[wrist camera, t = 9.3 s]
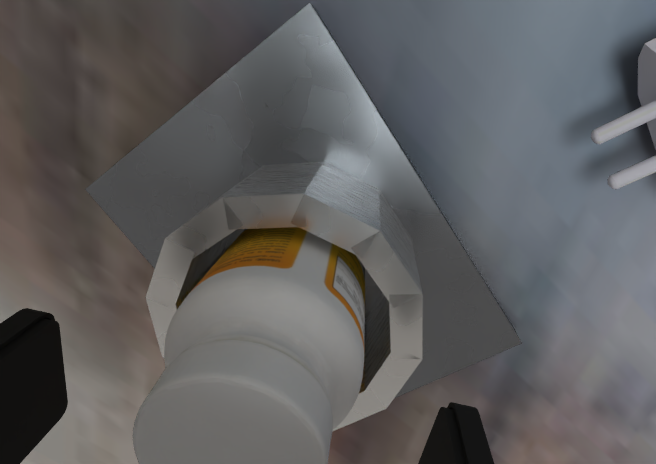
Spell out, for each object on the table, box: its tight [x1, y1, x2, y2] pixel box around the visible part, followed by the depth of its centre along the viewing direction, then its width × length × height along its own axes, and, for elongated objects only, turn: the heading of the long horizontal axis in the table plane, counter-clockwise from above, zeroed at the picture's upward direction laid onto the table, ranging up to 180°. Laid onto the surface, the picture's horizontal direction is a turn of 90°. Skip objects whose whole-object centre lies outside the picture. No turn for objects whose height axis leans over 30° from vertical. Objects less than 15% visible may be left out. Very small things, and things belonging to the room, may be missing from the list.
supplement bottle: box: [133, 227, 365, 464], centre depth 12 cm, size 5×5×10 cm
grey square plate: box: [85, 3, 522, 431], centre depth 16 cm, size 16×12×6 cm
